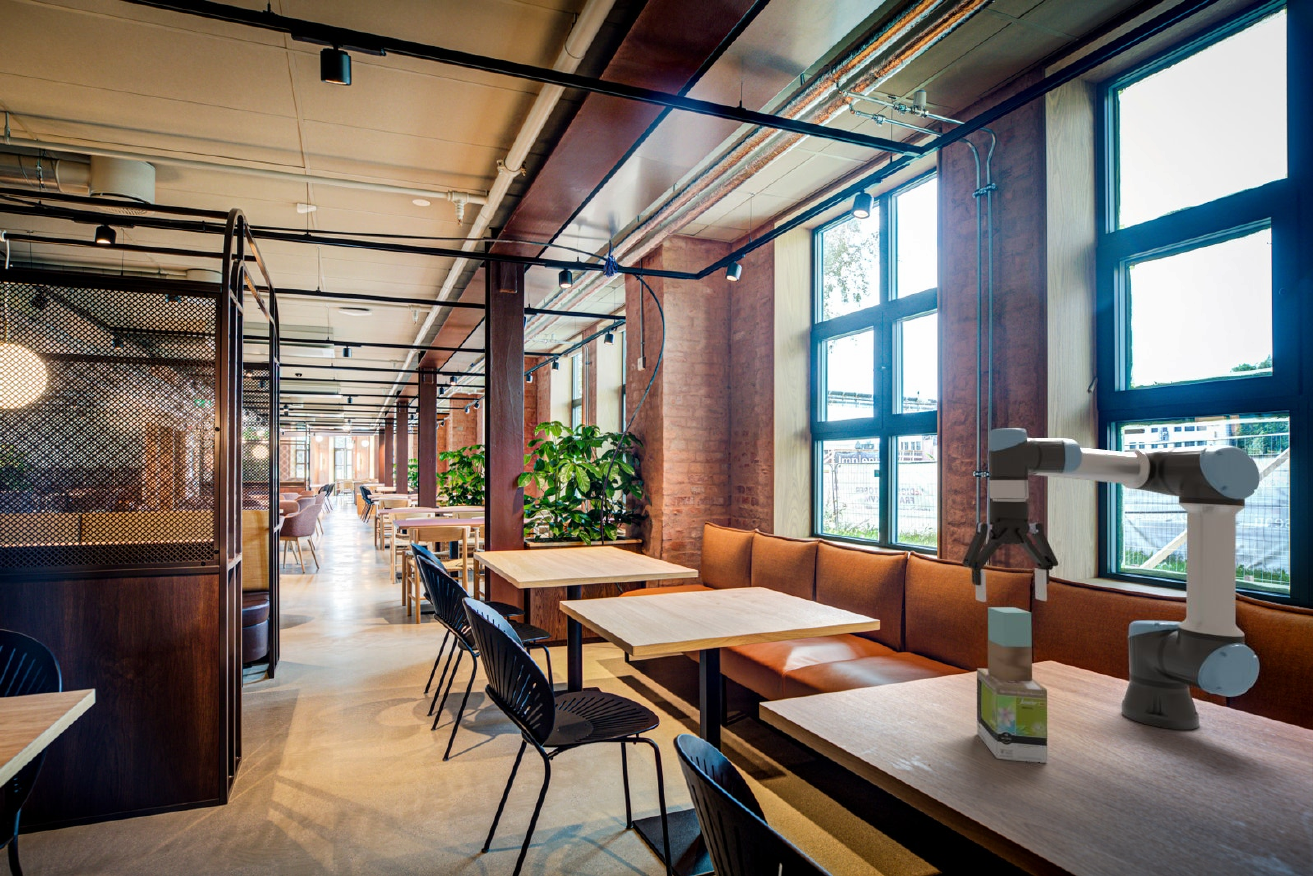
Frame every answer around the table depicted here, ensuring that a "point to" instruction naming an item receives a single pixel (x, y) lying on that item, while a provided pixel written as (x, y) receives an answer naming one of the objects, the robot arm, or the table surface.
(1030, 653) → the walnut block
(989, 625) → the teal block
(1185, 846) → the table surface
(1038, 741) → the tea box
